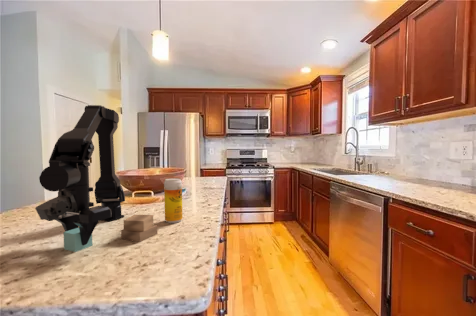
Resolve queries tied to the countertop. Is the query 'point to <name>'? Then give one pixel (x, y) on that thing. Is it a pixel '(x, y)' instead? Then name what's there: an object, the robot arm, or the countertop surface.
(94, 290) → the countertop surface
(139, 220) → the slab upper
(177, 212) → the beer can
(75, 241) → the teal cube
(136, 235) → the slab lower
